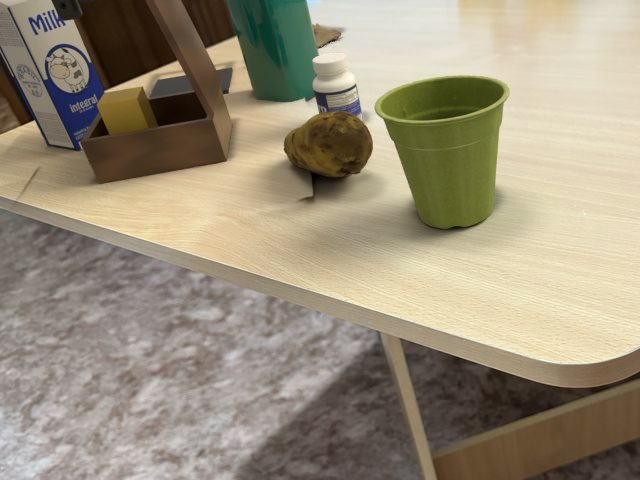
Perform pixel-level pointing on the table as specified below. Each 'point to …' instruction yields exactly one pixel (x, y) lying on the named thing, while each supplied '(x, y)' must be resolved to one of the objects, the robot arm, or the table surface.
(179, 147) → the brown wooden box
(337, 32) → the jawbone
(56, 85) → the milk carton
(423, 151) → the plant pot
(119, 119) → the block
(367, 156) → the potato
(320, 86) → the pill bottle
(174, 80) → the mat
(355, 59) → the table surface
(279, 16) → the pitcher
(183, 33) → the lid
